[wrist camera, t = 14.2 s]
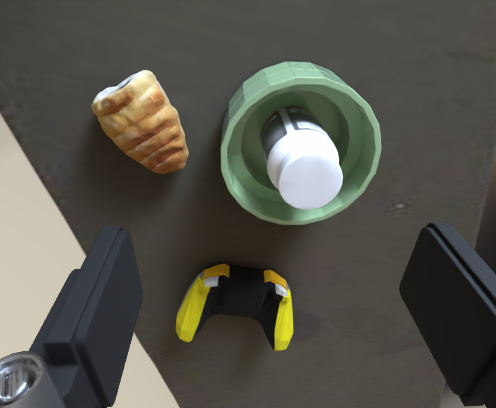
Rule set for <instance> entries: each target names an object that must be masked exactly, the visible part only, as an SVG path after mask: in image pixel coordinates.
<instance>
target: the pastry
mask: <svg viewBox="0 0 496 408" xmlns="http://www.w3.org/2000/svg"><path fill="white" fill-rule="evenodd" d="M91 108H92V110H93V112H94V114H96V115H97V117H98V120H99V122H100V124H101V126H102V129H103V130H104V132H105V134H106V135H107V136H109V137H110V138H111V139H112V140H113V141H114V143H115V144H116V145H117V146H118V148H120V149H121V150H122V151H124V153H125V154H126V155H128V156H130V157H132V158H133V159H134V160H135V161H137V162H140V163H141V164H142V165H144V166H145V167H147V168H148V169H150V170H151V171H153V172H155V173H160V174H166V173H170V172H173V171H178V170H181V169H183V168H184V166H185V163H186V160H187V157H188V154H189V152H188V149H187V146H186V142H185V133H184V131H183V129H182V126H181V124H180V119H179V115H178V112H177V111H176V109H175V108H174V107H173V106H172V105H171V104H170V102H169V100H168V98H167V96H166V94H165V92H164V91H163V89H162V88H161V86H160V84H159V83H158V81H157V80H156V77H155V75H154V74H153V73H152V72H150V71H147V70H143V71H141V72H139V73H137V74H134V75H132V76H130V77H128V78H127V79H126V80H125V81H123V82H122V83H120V84H119V85H118V86H117V87H109V88H106V89H105V90H103V91H102V92H100V93H99V94H98V95H97V96H96V97H95V99H94V101H93V103H92V106H91Z"/></svg>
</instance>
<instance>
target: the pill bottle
mask: <svg viewBox="0 0 496 408" xmlns="http://www.w3.org/2000/svg"><path fill="white" fill-rule="evenodd" d="M261 143H262V148H263V153H264V157H265V162H266V167H267V171H268V175H269V178H270V180H271V182H272V183H273V185H274V186H275V187H276V188H277V189H278V190H279V192H280V195H281V197H282V198H283V199H284V201H285V202H286V203H288V204H289V205H290V206H292V207H295V208H298V209H302V210H311V209H316V208H320V207H322V206H324V205H326V204H328V203H329V202H330V201H332V200H333V199H334V198H335V197H336V195H337V194H338V192H339V191H340V188H341V186H342V180H343V175H342V171H341V168H340V166H339V157H338V153H337V150H336V147H335V146H334V144H333V142H332V141H331V139H330V138H329V136H328V135H327V133H326V132H325V130H324V129H323V127H322V126H321V124H320V123H319V121H318V119H317V118H316V117H315V116H314V114H313V113H311V112H310V111H309V110H307V109H305V108H303V107H300V106H286V107H283V108H280V109H278V110H276V111H275V112H273V113H272V114H271V115H270V116H269V117H268V118H267V120H266V121H265V123H264V125H263V127H262V131H261Z"/></svg>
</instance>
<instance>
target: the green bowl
mask: <svg viewBox="0 0 496 408" xmlns="http://www.w3.org/2000/svg"><path fill="white" fill-rule="evenodd" d="M286 106H300V107H303V108H305V109H307V110H309V111H310V112H311V113H313V114H314V116H315V117H316V118H317V119H318V121H319V123H320V124H321V126H322V127H323V129H324V130H325V132H326V133H327V135H328V136H329V138H330V139H331V141H332V142H333V144H334V146H335V147H336V150H337V153H338V157H339V166H340V168H341V171H342V175H343V180H342V186H341V188H340V191H339V192H338V194H337V195H336V197H335V198H334V199H333V200H332V201H330V202H329V203H328V204H326V205H324V206H322V207H320V208H316V209H311V210H302V209H298V208H295V207H292V206H290V205H289V204H288V203H286V202H285V201H284V199H283V198H282V197H281V195H280V192H279V190H278V189H277V188H276V187H275V186H274V185H273V183H272V182H271V180H270V178H269V175H268V171H267V167H266V162H265V157H264V153H263V148H262V143H261V131H262V127H263V125H264V123H265V121H266V120H267V118H268V117H269V116H270V115H271V114H272V113H273V112H275V111H276V110H278V109H280V108H283V107H286ZM380 154H381V137H380V127H379V124H378V122H377V120H376V118H375V116H374V114H373V111H372V109H371V107H370V105H369V104H368V103H367V102H366V101H365V100H364V99H363V98H361V97H360V96H359V95H358V94H357V93H356V92H355V91H354V90H353V89H352V88H351V87H349V86H348V85H347V84H346V83H345V82H343V81H342V80H341V79H340V78H339V77H338V76H336V75H335V74H334V73H333V72H332V71H330V70H328V69H325V68H323V67H320V66H318V65H315V64H313V63H309V62H283V63H280V64H277V65H274V66H270V67H267V68H264V69H262V70H261V71H259V72H258V73H256V74H255V75H254V76H252V77H251V78H249V79H248V80H247V81H245V82H244V83H243V84H242V85H241V87H240V88H239V89H238V91H237V92H236V93H235V95H234V96H233V97H232V99H231V100H230V102H229V104H228V107H227V110H226V113H225V117H224V120H223V124H222V137H221V172H222V175H223V177H224V180H225V183H226V185H227V188H228V191H229V192H230V193H231V195H232V196H233V197H234V198H235V199H236V201H237V202H238V203H239V204H240V205H241V207H243V208H244V209H245V210H247V211H249V212H250V213H252V214H253V215H255V216H257V217H258V218H260V219H262V220H266V221H270V222H273V223H277V224H282V225H303V224H304V225H305V224H309V223H313V222H317V221H321V220H325V219H327V218H329V217H331V216H333V215H335V214H336V213H338V212H340V211H342V210H344V209H346V208H347V207H348V206H349V205H350V204H351V203H352V202H353V201H355V200H356V199H357V198H358V197H359V196H360V195H361V194H362V193H363V192H364V190H365V189H366V187H367V186H368V184H369V182H370V181H371V179H372V178H373V176H374V174H375V172H376V169H377V165H378V162H379V158H380Z"/></svg>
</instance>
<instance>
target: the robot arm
mask: <svg viewBox="0 0 496 408" xmlns="http://www.w3.org/2000/svg"><path fill="white" fill-rule="evenodd" d="M399 290H400V294H401V297H402V299H403V301H404V302H405V304H406V306H407V308H408V310H409V312H410V314H411V316H412V317H413V319H414V321H415V323H416V325H417V327H418V329H419V331H420V332H421V334H422V336H423V338H424V340H425V342H426V344H427V346H428V347H429V349H430V351H431V353H432V355H433V357H434V359H435V361H436V363H437V364H438V366H439V368H440V370H441V372H442V374H443V376H444V378H445V379H446V381H447V383H448V385H449V387H450V388H451V390H452V391H453V393H455V394H456V395H458V396H459V397H460V399H461V401H462V402H463V405H464V406H482V405H484V404H485V406H486V407H487V408H496V275H495V274H494V272H493V271H492V270H491V269H490V268H489V267H488V266H487V265H486V263H485V262H484V261H483V260H482V259H481V258H480V257H479V255H478V254H477V253H476V252H475V251H474V250H473V249H472V248H471V246H470V245H469V244H468V243H467V242H466V241H465V240H464V238H463V237H462V236H461V235H460V234H459V233H458V232H457V231H456V229H455V228H454V227H453V226H452V225H451V224H449V223H429V224H428V225H427V226H426V228H423V229H422V230H421V232H420V234H419V237H418V239H417V242H416V244H415V247H414V250H413V252H412V255H411V257H410V260H409V262H408V265H407V268H406V270H405V273H404V275H403V278H402V280H401V283H400V287H399ZM142 298H143V290H142V285H141V280H140V276H139V271H138V267H137V262H136V258H135V253H134V248H133V244H132V239H131V235H130V232H129V231H124V228H123V227H122V226H103V227H102V228H101V229H100V231H99V233H98V235H97V237H96V239H95V241H94V243H93V245H92V247H91V249H90V251H89V253H88V255H87V256H86V258H85V260H84V262H83V264H82V267H81V269H74V270H73V271H72V272H71V273H70V275H69V277H68V278H67V280H66V282H65V284H64V286H63V288H62V289H61V291H60V293H59V295H58V297H57V299H56V301H55V303H54V305H53V306H52V308H51V310H50V312H49V314H48V316H47V318H46V320H45V321H44V323H43V325H42V327H41V329H40V331H39V333H38V334H37V336H36V338H35V340H34V342H33V344H32V346H31V347H30V349H29V351H22V352H17V353H13V354H10V355H8V356H6V357H3V358H1V359H0V408H107V407H112V406H113V404H114V402H115V399H116V396H117V392H118V388H119V384H120V381H121V377H122V373H123V370H124V366H125V362H126V358H127V355H128V351H129V347H130V344H131V340H132V336H133V333H134V329H135V325H136V321H137V318H138V314H139V310H140V307H141V303H142Z"/></svg>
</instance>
